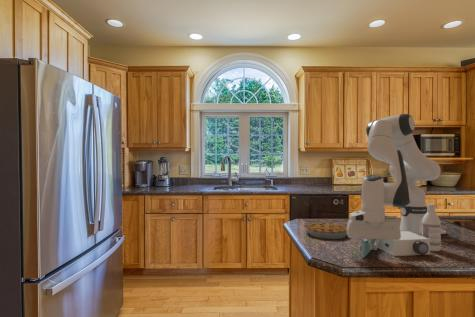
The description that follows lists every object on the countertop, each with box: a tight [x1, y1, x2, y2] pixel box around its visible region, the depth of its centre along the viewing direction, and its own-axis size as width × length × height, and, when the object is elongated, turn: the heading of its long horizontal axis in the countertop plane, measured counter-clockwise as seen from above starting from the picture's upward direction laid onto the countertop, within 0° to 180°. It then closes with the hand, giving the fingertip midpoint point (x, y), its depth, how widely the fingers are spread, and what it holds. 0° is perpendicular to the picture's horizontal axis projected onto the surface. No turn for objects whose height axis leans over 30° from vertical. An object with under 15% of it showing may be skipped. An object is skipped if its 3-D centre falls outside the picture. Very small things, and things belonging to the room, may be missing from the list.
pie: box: [305, 222, 347, 240], centre depth 158 cm, size 22×22×5 cm
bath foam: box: [421, 203, 442, 252], centre depth 132 cm, size 7×7×20 cm
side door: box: [359, 239, 376, 258], centre depth 128 cm, size 2×21×7 cm, turn 144°
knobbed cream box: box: [377, 231, 431, 257], centre depth 129 cm, size 16×16×7 cm
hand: (373, 249), depth 122 cm, fingers closed
